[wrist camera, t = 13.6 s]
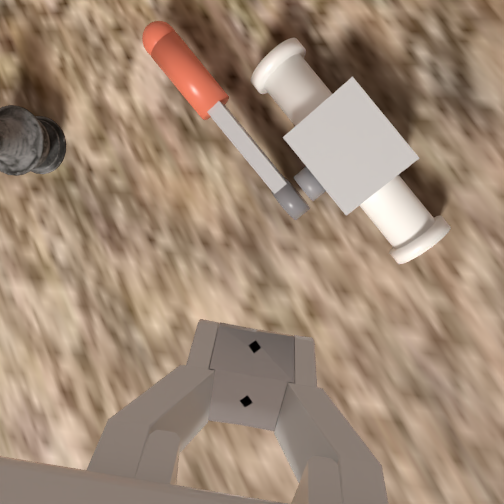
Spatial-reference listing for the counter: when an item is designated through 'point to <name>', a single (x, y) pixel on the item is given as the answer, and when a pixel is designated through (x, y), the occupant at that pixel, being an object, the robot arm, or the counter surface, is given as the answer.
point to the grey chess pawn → (29, 142)
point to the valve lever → (215, 108)
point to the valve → (348, 150)
